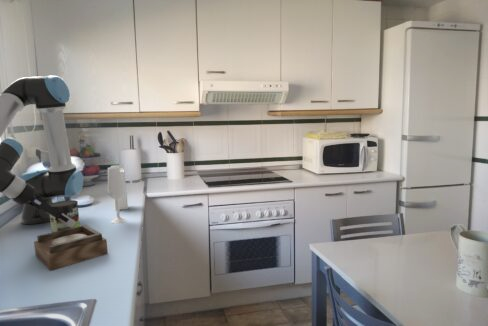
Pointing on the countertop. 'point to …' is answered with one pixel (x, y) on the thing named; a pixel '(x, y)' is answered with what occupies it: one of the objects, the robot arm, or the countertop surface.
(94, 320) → the countertop surface
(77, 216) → the coffee can
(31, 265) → the countertop surface
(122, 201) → the milk
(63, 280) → the countertop surface
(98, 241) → the display stand
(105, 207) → the countertop surface
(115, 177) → the champagne flute
